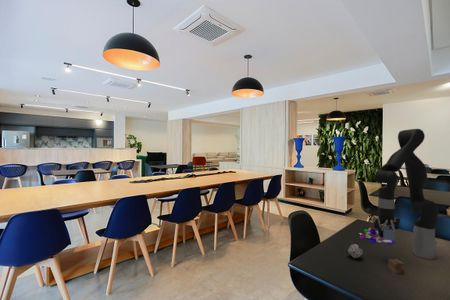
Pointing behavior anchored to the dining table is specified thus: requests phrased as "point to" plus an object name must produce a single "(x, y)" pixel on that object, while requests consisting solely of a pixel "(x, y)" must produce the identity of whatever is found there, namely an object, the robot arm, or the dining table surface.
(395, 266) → the walnut block
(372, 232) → the building block set
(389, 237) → the blue block
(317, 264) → the dining table surface
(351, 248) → the game die
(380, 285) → the dining table surface
